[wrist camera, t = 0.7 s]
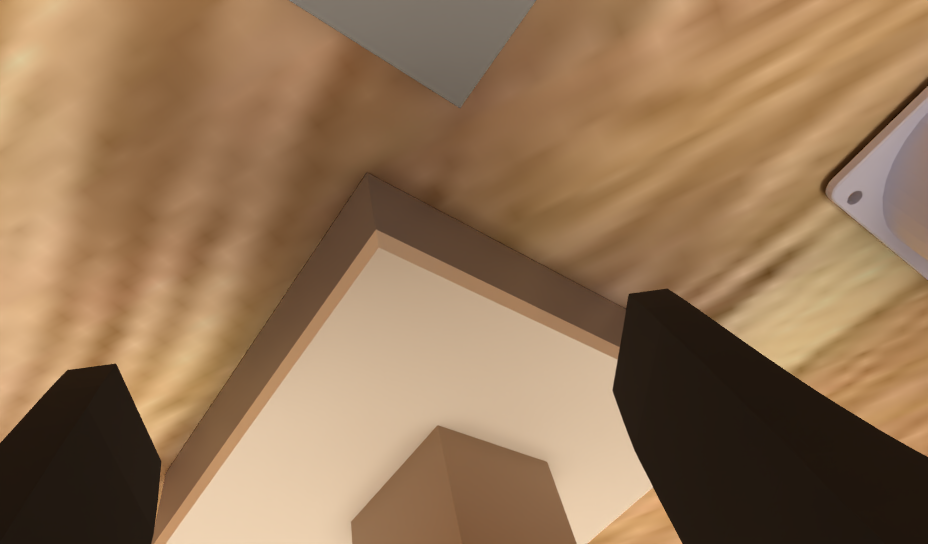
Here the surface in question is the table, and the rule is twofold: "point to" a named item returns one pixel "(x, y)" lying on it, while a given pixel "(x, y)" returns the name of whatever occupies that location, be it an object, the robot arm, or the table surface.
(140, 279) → the table surface
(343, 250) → the storage box
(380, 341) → the lid
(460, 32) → the slate mat
